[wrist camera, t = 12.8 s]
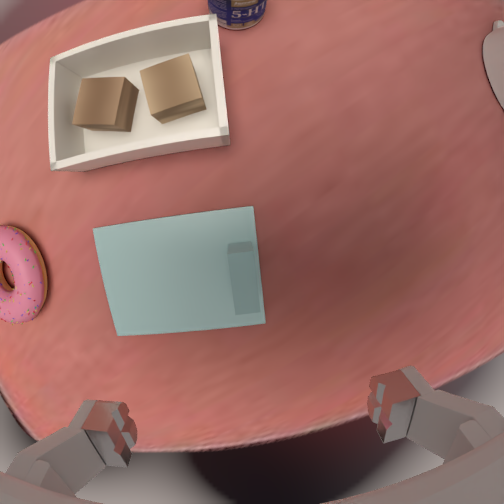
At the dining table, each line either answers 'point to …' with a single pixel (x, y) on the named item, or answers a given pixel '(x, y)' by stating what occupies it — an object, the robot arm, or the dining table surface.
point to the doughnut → (21, 276)
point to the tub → (144, 125)
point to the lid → (182, 272)
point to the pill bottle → (237, 12)
